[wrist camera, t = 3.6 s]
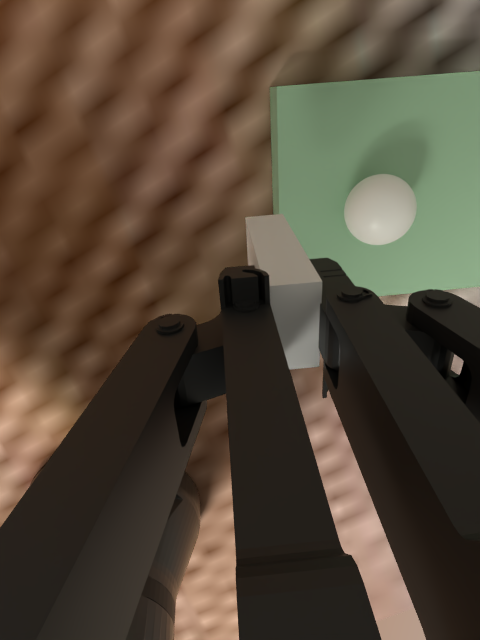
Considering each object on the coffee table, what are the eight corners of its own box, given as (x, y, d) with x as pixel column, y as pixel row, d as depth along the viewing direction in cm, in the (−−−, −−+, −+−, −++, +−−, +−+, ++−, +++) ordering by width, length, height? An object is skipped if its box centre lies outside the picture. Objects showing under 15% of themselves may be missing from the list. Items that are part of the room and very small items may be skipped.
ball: (334, 236, 24) (354, 257, 21) (337, 171, 22) (359, 184, 19) (395, 230, 24) (424, 251, 21) (402, 165, 22) (435, 177, 19)
